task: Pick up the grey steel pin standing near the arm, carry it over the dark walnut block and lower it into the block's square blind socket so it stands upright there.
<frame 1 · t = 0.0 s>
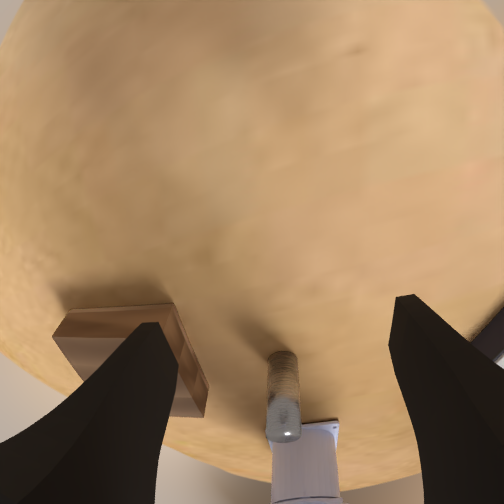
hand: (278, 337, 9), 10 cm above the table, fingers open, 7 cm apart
bore block: (139, 351, 25), on the table
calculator: (496, 355, 25), on the table
pin: (282, 361, 24), on the table
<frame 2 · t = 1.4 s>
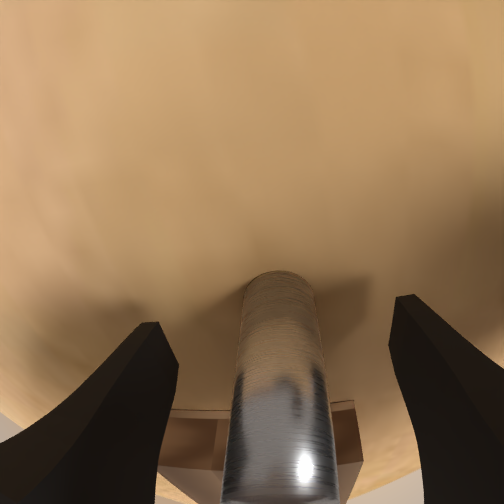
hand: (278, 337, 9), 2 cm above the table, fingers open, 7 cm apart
bore block: (266, 448, 17), on the table
pin: (278, 300, 11), on the table
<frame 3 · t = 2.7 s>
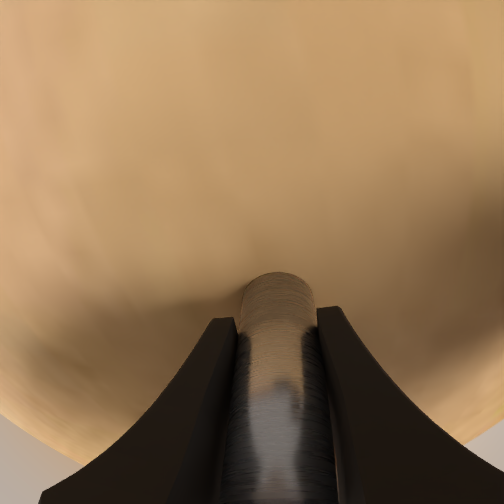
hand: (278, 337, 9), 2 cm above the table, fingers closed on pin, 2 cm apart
pin: (277, 301, 11), on the table, touching gripper
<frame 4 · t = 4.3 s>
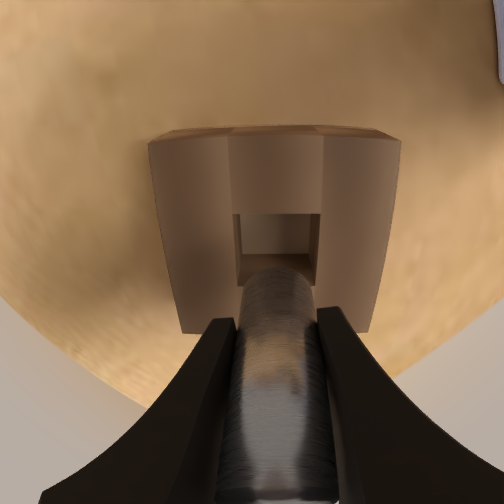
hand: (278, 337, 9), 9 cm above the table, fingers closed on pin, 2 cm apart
bore block: (275, 219, 17), on the table
pin: (277, 297, 11), point 7 cm above the table, touching gripper
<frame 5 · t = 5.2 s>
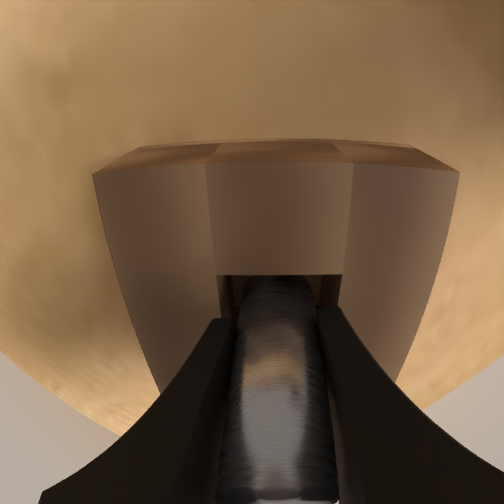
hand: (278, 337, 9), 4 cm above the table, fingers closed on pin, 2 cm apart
bore block: (277, 263, 13), on the table
pin: (277, 297, 11), point 2 cm above the table, touching gripper
when the fingers open (4 cm above the table, at t = 5.9 s): pin drops 2 cm, resting on bore block.
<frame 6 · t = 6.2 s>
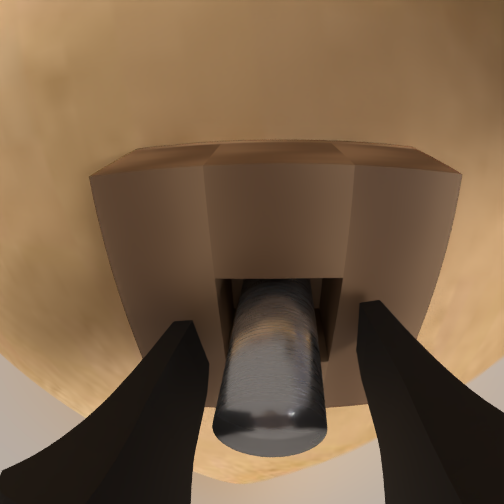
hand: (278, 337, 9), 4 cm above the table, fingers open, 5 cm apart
bore block: (276, 266, 13), on the table
pin: (277, 271, 12), point 1 cm above the table, touching bore block
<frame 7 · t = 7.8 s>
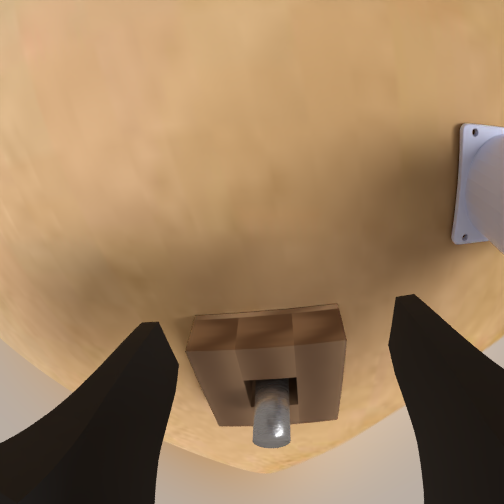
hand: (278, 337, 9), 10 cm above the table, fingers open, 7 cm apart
bore block: (272, 358, 24), on the table
pin: (272, 361, 23), point 1 cm above the table, touching bore block
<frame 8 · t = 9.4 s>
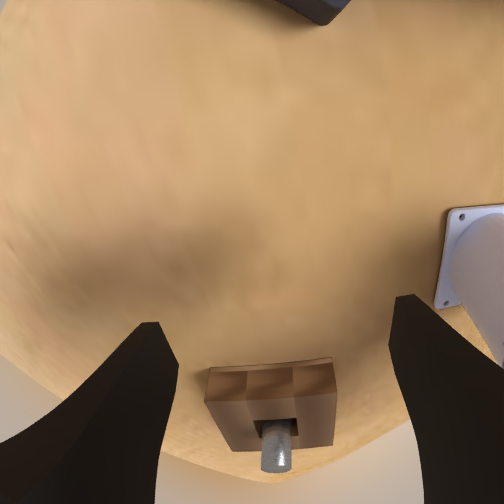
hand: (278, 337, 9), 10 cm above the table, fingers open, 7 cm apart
bore block: (276, 397, 27), on the table
pin: (276, 400, 26), point 1 cm above the table, touching bore block
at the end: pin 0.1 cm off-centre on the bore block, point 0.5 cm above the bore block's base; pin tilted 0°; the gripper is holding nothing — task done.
